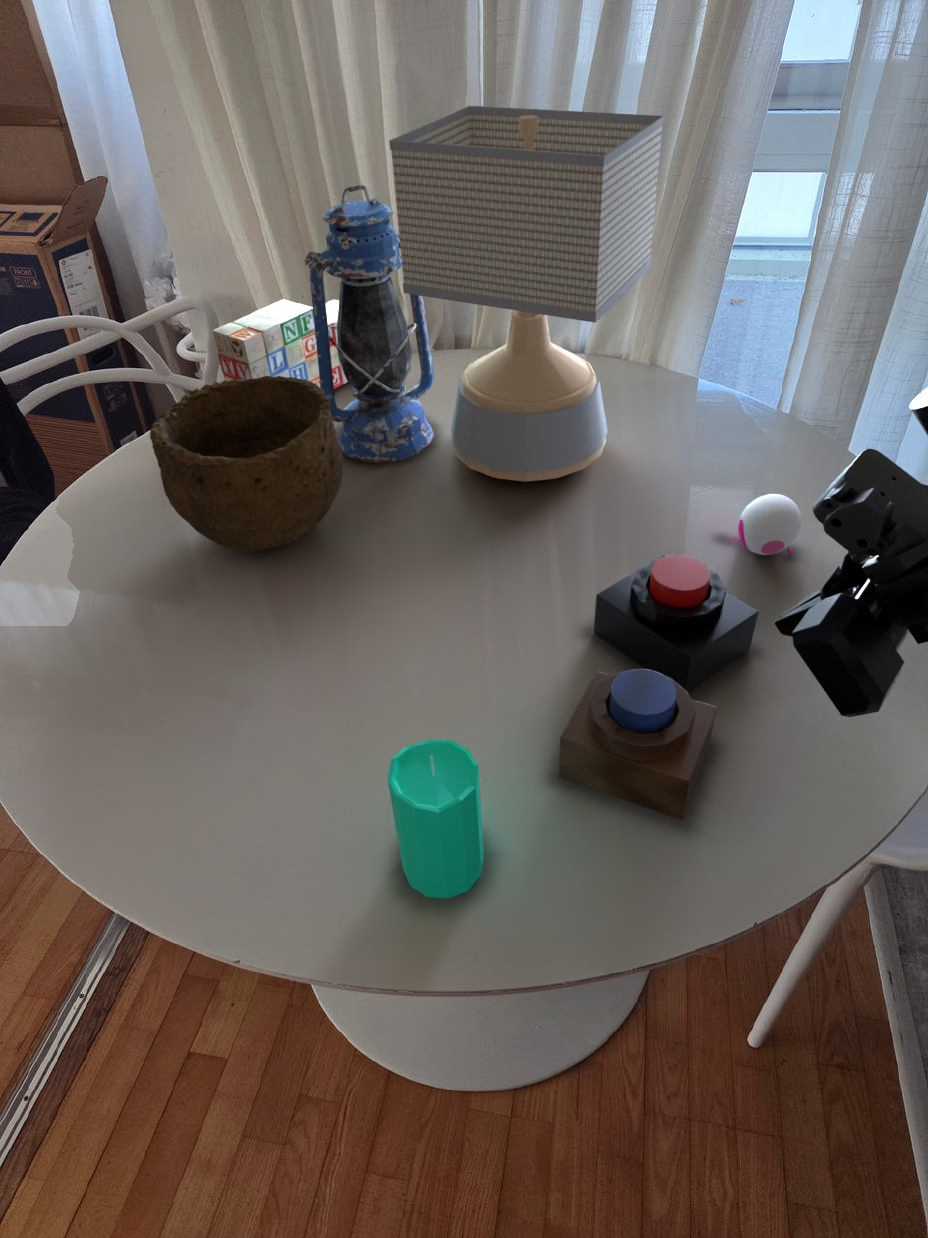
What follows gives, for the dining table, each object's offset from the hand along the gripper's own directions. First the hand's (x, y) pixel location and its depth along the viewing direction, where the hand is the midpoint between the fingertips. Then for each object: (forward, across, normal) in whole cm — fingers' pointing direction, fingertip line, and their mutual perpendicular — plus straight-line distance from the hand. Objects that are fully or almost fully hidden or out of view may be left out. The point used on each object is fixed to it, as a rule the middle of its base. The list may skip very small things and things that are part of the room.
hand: (779, 626), depth 60 cm
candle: (+19, +23, 0) cm, 30 cm away
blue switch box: (+14, +6, +5) cm, 16 cm away
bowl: (+49, +2, -30) cm, 57 cm away
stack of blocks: (+64, -25, -46) cm, 83 cm away
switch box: (+18, -8, +2) cm, 19 cm away
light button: (+13, -8, -3) cm, 16 cm away
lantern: (+52, -22, -32) cm, 65 cm away
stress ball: (+17, -26, +2) cm, 32 cm away
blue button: (+10, +6, 0) cm, 12 cm away
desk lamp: (+39, -28, -20) cm, 52 cm away
